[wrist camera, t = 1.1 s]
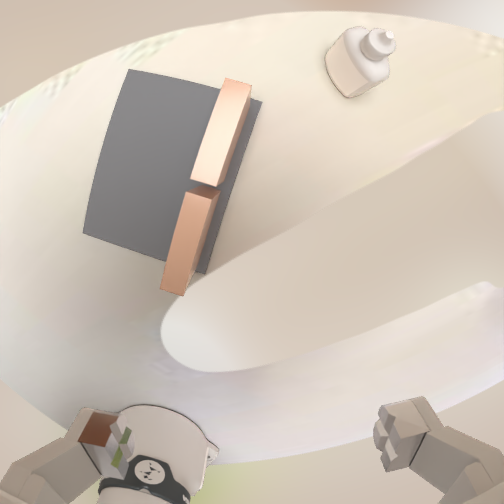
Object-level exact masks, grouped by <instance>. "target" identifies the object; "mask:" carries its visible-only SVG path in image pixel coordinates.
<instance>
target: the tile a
mask: <svg viewBox="0 0 504 504" xmlns="http://www.w3.org/2000/svg"><path fill="white" fill-rule="evenodd" d="M220 192H221V191H220V190H217V189H214V188H211V187H208V186H204V185H201V186H198V187H196V188H194V189H191V190H189V191H186V193H185V197H184V200H183V203H182V207H181V210H180V214H179V217H178V221H177V224H176V228H175V231H174V235H173V238H172V242H171V246H170V250H169V253H168V257H167V261H166V265H165V269H164V273H163V277H162V281H161V285H160V289H162V290H165V291H168V292H171V293H174V294H177V295H180V296H184V293H185V291H186V289H187V287H188V285H189V282H190V280H191V278H192V276H193V274H194V271H195V269H196V267H197V265H198V263H199V259H200V256H201V253H202V249H203V246H204V243H205V240H206V236H207V233H208V230H209V227H210V223H211V220H212V217H213V214H214V211H215V208H216V204H217V201H218V198H219V195H220Z"/></svg>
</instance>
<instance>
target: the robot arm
mask: <svg viewBox="0 0 504 504" xmlns="http://www.w3.org/2000/svg"><path fill="white" fill-rule="evenodd" d="M378 415H379V417H380V419H379V420H378V421H377V422H376V423H375V426H374V429H373V437H374V442H375V445H376V448H377V449H379V450H380V451H382V452H383V453H382V455H381V461H382V463H383V466H384V469H385V471H386V472H390V471H394V470H398V469H402V468H406V467H409V468H410V469H411V470H413V471H414V472H416V473H417V474H418V475H419V476H421V477H422V478H424V479H425V480H426V481H428V482H429V483H430V484H432V485H433V486H434V487H436V488H437V489H439V490H440V491H441V492H443V493H444V494H445V495H444V497H443V498H442V499H441V500H440V501H439V503H438V504H504V456H503V454H502V453H501V451H500V450H499V449H497V448H494V447H492V446H490V445H488V444H485V443H483V442H481V441H479V440H477V439H474V438H472V437H470V436H468V435H465V434H464V433H462V432H459V431H457V430H455V429H453V428H451V427H449V426H446V427H444V426H443V424H442V423H441V421H440V420H439V418H438V417H437V415H436V414H435V412H434V410H433V409H432V407H431V406H430V404H429V403H428V401H427V400H426V398H425V397H423V396H421V397H417V398H413V399H409V400H404V401H400V402H395V403H391V404H386V405H382V406H381V407H380V408H379V412H378ZM218 453H219V450H218V448H217V447H216V446H214V445H213V444H212V443H210V442H209V441H208V440H207V439H206V438H205V436H204V435H203V433H202V431H201V430H200V429H199V428H198V427H197V426H196V425H195V424H194V423H193V422H192V421H190V420H189V419H187V418H186V417H184V416H182V415H180V414H178V413H176V412H173V411H171V410H168V409H165V408H161V407H156V406H146V405H141V406H133V407H129V408H127V409H125V410H123V411H121V412H119V413H113V412H107V411H102V410H96V409H90V408H85V407H84V408H82V409H81V410H80V411H79V413H78V415H77V417H76V418H75V420H74V422H73V423H72V425H71V427H70V428H69V430H68V432H67V434H66V435H65V437H64V438H59V439H57V440H55V441H53V442H51V443H50V444H48V445H46V446H44V447H42V448H40V449H39V450H37V451H35V452H33V453H31V454H29V455H27V456H25V457H23V458H21V459H19V460H18V461H15V462H14V463H12V464H11V466H10V468H9V469H8V471H7V473H6V474H5V476H4V478H3V479H2V481H1V483H0V504H69V503H70V502H72V501H73V500H74V499H75V498H76V497H78V496H79V495H80V494H81V493H83V492H84V491H85V490H86V489H88V488H89V487H90V486H91V485H93V484H94V483H95V482H96V481H97V480H98V479H100V478H101V477H102V478H101V480H100V483H99V485H100V486H99V489H98V493H99V499H98V501H97V504H190V496H195V494H196V492H197V491H199V490H200V489H201V488H202V486H203V482H204V475H205V469H206V468H207V467H208V466H209V465H210V464H211V463H212V462H213V461H214V459H215V458H216V457H217V456H218Z"/></svg>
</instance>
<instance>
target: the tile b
mask: <svg viewBox="0 0 504 504" xmlns="http://www.w3.org/2000/svg"><path fill="white" fill-rule="evenodd" d="M251 87H252V85H249V84H246V83H242V82H239V81H236V80H232V79H228V78H225V80H224V83H223V85H222V88H221V90H220V93H219V96H218V98H217V101H216V104H215V107H214V109H213V112H212V115H211V118H210V120H209V123H208V126H207V129H206V132H205V135H204V138H203V140H202V143H201V146H200V149H199V152H198V155H197V158H196V161H195V165H194V168H193V171H192V174H191V177H190V179H193V180H196V181H199V182H203V183H206V184H209V185H212V186H215V187H216V186H218V185H219V184H221V183H222V182H224V180H225V177H226V174H227V171H228V168H229V165H230V162H231V159H232V156H233V153H234V150H235V147H236V145H237V142H238V139H239V136H240V133H241V130H242V127H243V125H244V122H245V119H246V116H247V114H248V111H249V108H250V98H251Z"/></svg>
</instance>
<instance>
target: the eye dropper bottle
mask: <svg viewBox="0 0 504 504" xmlns="http://www.w3.org/2000/svg"><path fill="white" fill-rule="evenodd" d="M395 49H396V43H395V40H394V34H393V33H392V32H391V31H386V30H384V29H381V28H376V29H372V30H371V31H369V30H367V29H366V28H364V27H360V26H359V27H353V28H350V29H347V30H346V31H344V32H343V33H342V34H341V36H340V37H339V38H338V39H337V41H336V42H335V43H334V44H333V46H332V47H331V48H330V49H329V51H328V52H327V53H326V56H325V62H326V67H327V71H328V74H329V76H330V78H331V80H332V82H333V83H334V85H335V86H336V87H337V89H338V90H339V91H340V92H341V93H342V94H343V95H344V96H346V97H348V98H351V97H354V96H357V95H360V94H362V93H364V92H366V91H368V90H369V89H371V88H373V87H375V86H376V85H378V84H380V83H382V82H383V81H385V80H386V79H388V78H389V75H390V66H389V60H388V56H389V55H390V54H391V53H393V52H394V51H395Z"/></svg>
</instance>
